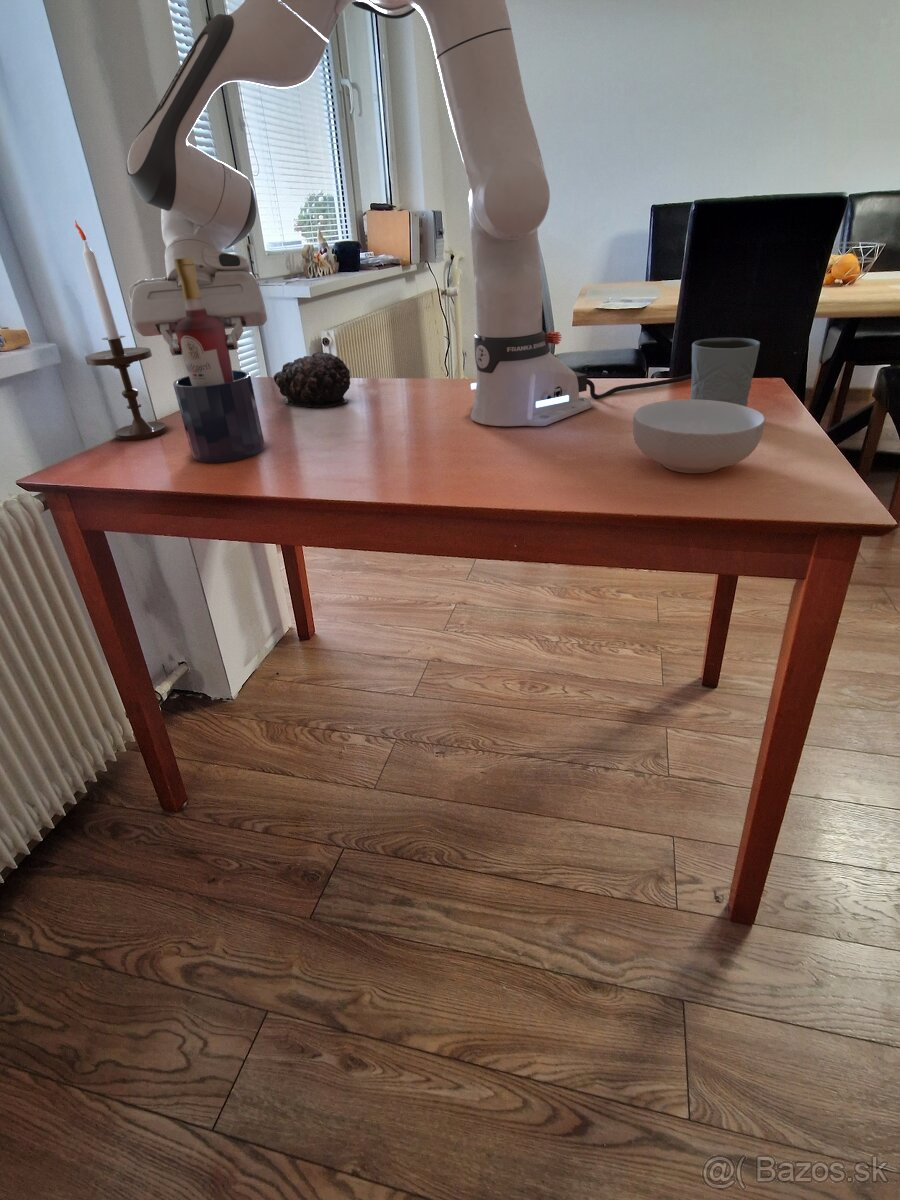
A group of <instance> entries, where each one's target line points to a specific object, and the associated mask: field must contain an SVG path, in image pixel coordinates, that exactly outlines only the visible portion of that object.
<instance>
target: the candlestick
mask: <svg viewBox="0 0 900 1200" xmlns="http://www.w3.org/2000/svg"><path fill="white" fill-rule="evenodd" d="M74 223H75V225H74V226H75V228H76V229H77V231H78V234H79V235H80V238H81V240H82V241H83V242H82V243H83V251H82V252H81V255H82V258H83V261H84V264H85V267H86V270H87V274H88V277H89V278H88V279H89V281H90V284H91V287H92V291H93V294H94V297H95V300H96V303H97V308H98V311H99V313H100V317H101V320H102V323H103V327H104V331H105V332H106V337H102V338H101V340H102V341H107V342H108V346H109V349H106V350H102V351H98V352H94V353H90V354H88V355H86V356H84V359H85V363H86V364H87V365H88V366H95V367H96V366H97V367H100V366H101V367H102V366H103V367H105V366H109V367H113V369H115V370H116V369H117V370H118V372H119V374H120V377H121V380H122V381H121V382H122V384H123V387H124V389H123V390H122V391H121V395H122V396H123V397H124V399H126V400H127V403H128V405H127V406H126V409H128V410H130V411H131V414H132V417H133V419H132V421H131V424H129V425H125V426H123V427H120V428H118V429H117V430H115V431H114V435H115V438H116V439H117V440H118V441H128V442H129V441H130V442H131V441H140V440H141V441H142V440H146V439H151V438H155V437H158V436H161V435H163V434H165V433H166V432H167V431H168V427H167V423H166V422H163V421H146V420H145V419H144V418H143V417H142V415H141V414H142V413H141V411H140V408H142V404H141V403H138V399H137V398H138V397H139V391H138V389H137V388H134V387H133V384H132V381H131V378H130V374H129V371H128V368H130V367H131V364H134V362H136V363H137V362H140V361H143V360H147V359H150V358H152V357H153V353H152V350H151V348H150V347H146V346H145V347H143V346H142V347H141V346H137V347H135V346H134V347H124V346H123V343H122V339H124V338H126V337H127V336H126V335H119V332H118V331H119V330H118V328H117V324H116V321H115V317H114V314H113V311H112V308H111V307H112V306H111V304H110V300H109V298H108V294H107V291H106V290H107V289H106V287H105V283H104V280H103V277H102V273H101V270H100V267H99V266H100V265H99V264H98V263H99V262H98V260H97V257H96V254H95V251H93V250H92V249H91V248H90V246H89V244H88V241H87V235H86V233H85V231H84V229H82V227H81V226H80V225H79V224H78V221H77V220H76V219H75V220H74Z"/></svg>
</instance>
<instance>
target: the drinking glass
mask: <svg viewBox="0 0 900 1200" xmlns="http://www.w3.org/2000/svg"><path fill="white" fill-rule="evenodd" d="M760 345H761V342H760V341H759V340H756V339H754V338H747V337H746V338H745V337H713V338H712V337H711V338H704V339H698V340H695V341H693V342H692V344H691V374H692V379H691V383H690V384H691V385H690V387H691V390H690V399H698V400H712V401H721V402H728V403H733V404H738V405H742V406H746V407H748V399H749V396H750V390H751V389H752V380H753V377H754V373H755V369H756V365H757V361H758V355H759V351H760V348H761V347H760Z"/></svg>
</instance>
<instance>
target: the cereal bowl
mask: <svg viewBox="0 0 900 1200" xmlns="http://www.w3.org/2000/svg"><path fill="white" fill-rule="evenodd" d="M765 424H766V417H765V415H764V414H763V413H762V412H760V411H758V410H757V409H754V408H752V407H748V406H747V407H746V406H742V405H738V404H733V403H728V402H721V401H712V400H698V399H691V398H690V399H689V398H688V399H687V398H686V399H683V398H682V399H670V400H662V401H661V400H660V401H655V402H652V403H648V404H644V405H642V406H640V407H639V408H638V409H636V410H635V412H634V413H633V417H632V435H633V440H634V443H635V444H636V446H637V448H638V449H639V450H640V451H641V453H642V454H644V456H646V457H647V458H649V459H651V460H652V461H654V462H657V463H658V464H661V465H662V466H663V467H664V468H666V469H667V470H670V471H673V472H676V473H681V474H682V473H684V474H706V473H707V474H708V473H712V472H715V471H718V470H719V469H722V468H726V467H730V466H732V465H736V464H738V463H740V462H741V461H743V460H745V459H746V458H748V457H749V456H750V455H751V454H752V453H753V452H754V451H755V450H756V448H757V447H758V445H759V443H760V442H761V439H762V436H763V434H764V429H765Z"/></svg>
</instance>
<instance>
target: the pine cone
mask: <svg viewBox="0 0 900 1200" xmlns="http://www.w3.org/2000/svg"><path fill="white" fill-rule="evenodd" d="M350 373H351V371H350V369H349V368H348V367H347V365H346V363H345V362H344V361H343V360H342V359H341V358H340V357H339V356H337V355H335V354H333V353H330V352H321V351H320V352H319V351H317V352H313V353H312V354H311V355H304V356H303V357H299V358H297V359H294V360H293V361H290V362H289V361H288V362H286V363H285V364H283V365H282V369H281V371H278V372H275V374H274V375H273V381H274V383H275V384H276V386H277V387H278V388H279V393H280V395H281V396H283V397H286V399H285V400H284V403H285V404H287V405H289V406H293V407H307V408H308V407H309V408H328V407H334V406H338V405H342V404H344V403H347V402H349V399H347V398H344V396H345V394H346V393H347V392H348V391H349V389H350V386H351V374H350Z"/></svg>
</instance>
